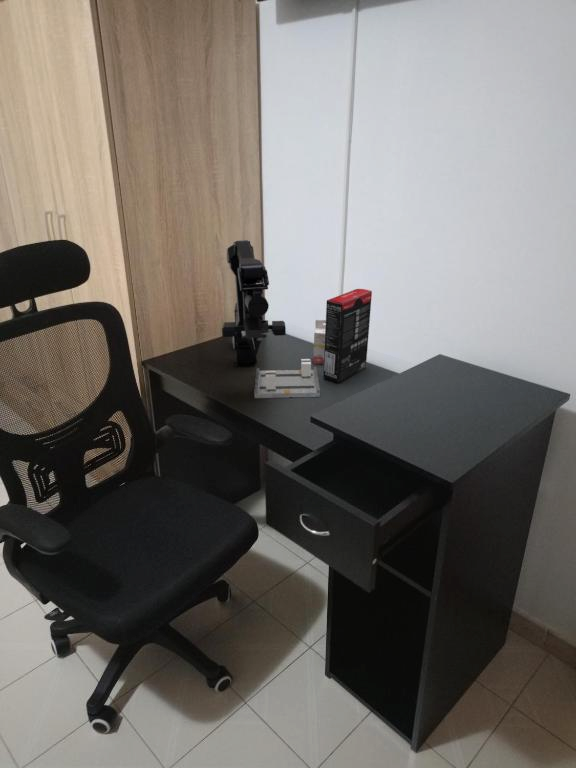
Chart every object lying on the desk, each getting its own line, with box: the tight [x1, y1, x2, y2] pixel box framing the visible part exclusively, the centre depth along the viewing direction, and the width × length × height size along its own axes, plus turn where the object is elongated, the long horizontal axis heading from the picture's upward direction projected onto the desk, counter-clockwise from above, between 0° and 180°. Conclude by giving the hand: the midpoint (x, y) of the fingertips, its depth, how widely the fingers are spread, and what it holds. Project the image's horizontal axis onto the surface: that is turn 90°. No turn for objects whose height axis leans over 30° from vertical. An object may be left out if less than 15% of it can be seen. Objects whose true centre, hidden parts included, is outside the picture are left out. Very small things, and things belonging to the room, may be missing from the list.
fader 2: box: [300, 358, 312, 377], centre depth 177 cm, size 3×4×5 cm
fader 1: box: [265, 370, 276, 390], centre depth 169 cm, size 3×4×5 cm
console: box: [253, 366, 321, 399], centre depth 175 cm, size 20×17×2 cm
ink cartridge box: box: [313, 319, 326, 365], centre depth 189 cm, size 9×5×15 cm, turn 84°
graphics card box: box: [322, 288, 373, 384], centre depth 177 cm, size 17×7×27 cm, turn 141°
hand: (255, 355), depth 166 cm, fingers closed
